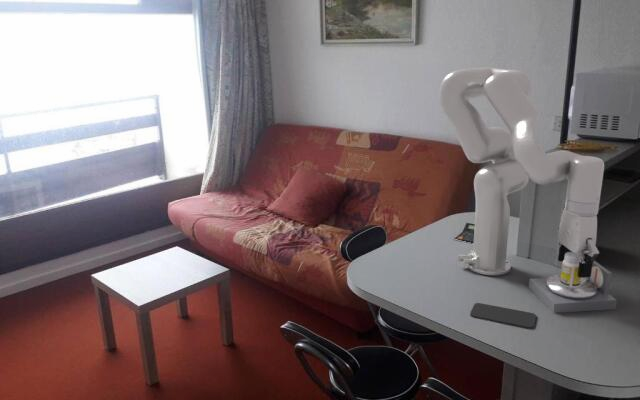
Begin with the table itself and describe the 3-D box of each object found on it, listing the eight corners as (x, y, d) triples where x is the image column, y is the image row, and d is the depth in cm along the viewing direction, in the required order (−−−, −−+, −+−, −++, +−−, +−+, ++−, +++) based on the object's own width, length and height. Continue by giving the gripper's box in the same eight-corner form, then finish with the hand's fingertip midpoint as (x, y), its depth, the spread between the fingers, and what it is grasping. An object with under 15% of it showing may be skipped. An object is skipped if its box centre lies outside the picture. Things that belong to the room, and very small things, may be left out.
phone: (475, 302, 138) (536, 313, 131) (475, 304, 138) (536, 316, 132) (469, 315, 132) (533, 328, 125) (468, 318, 132) (533, 331, 125)
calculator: (454, 240, 180) (454, 232, 179) (466, 230, 189) (467, 222, 188) (481, 246, 175) (482, 237, 174) (492, 235, 184) (493, 227, 183)
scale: (553, 312, 132) (557, 282, 130) (528, 287, 146) (531, 258, 143) (615, 308, 133) (619, 278, 131) (584, 283, 147) (588, 255, 144)
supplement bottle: (579, 281, 140) (583, 252, 137) (580, 289, 136) (584, 259, 133) (559, 279, 142) (563, 250, 139) (559, 286, 138) (563, 257, 135)
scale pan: (560, 300, 133) (560, 296, 132) (538, 279, 144) (538, 275, 144) (606, 297, 133) (607, 294, 133) (580, 276, 145) (581, 273, 145)
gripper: (550, 196, 140) (543, 256, 145) (586, 218, 123) (577, 284, 129) (577, 195, 140) (570, 254, 146) (617, 216, 124) (607, 282, 129)
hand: (573, 268), depth 137 cm, fingers open, 9 cm apart
